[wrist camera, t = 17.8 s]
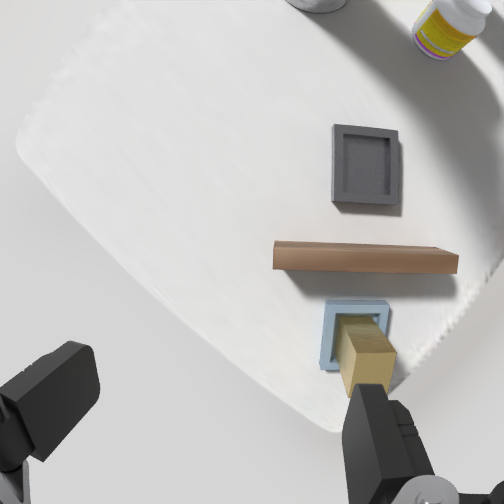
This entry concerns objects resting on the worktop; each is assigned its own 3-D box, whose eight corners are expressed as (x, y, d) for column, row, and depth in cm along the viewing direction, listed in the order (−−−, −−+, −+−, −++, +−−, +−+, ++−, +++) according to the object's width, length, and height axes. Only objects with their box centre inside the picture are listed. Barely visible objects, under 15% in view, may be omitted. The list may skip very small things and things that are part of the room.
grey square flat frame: (331, 127, 34) (334, 124, 32) (393, 133, 33) (398, 130, 32) (331, 200, 35) (333, 201, 34) (392, 204, 35) (398, 205, 33)
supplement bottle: (453, 68, 31) (503, 32, 18) (409, 51, 31) (451, 4, 19) (451, 31, 30) (495, -10, 17) (410, 14, 30) (445, -36, 17)
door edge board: (274, 240, 37) (273, 248, 31) (435, 247, 35) (458, 255, 29) (274, 258, 37) (272, 269, 31) (433, 263, 35) (456, 273, 29)
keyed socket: (325, 299, 37) (327, 304, 35) (385, 300, 37) (389, 305, 35) (319, 363, 39) (320, 369, 37) (375, 362, 38) (378, 368, 36)
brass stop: (339, 315, 37) (356, 353, 27) (370, 316, 36) (396, 352, 27) (334, 353, 38) (348, 398, 28) (365, 353, 37) (386, 396, 27)
